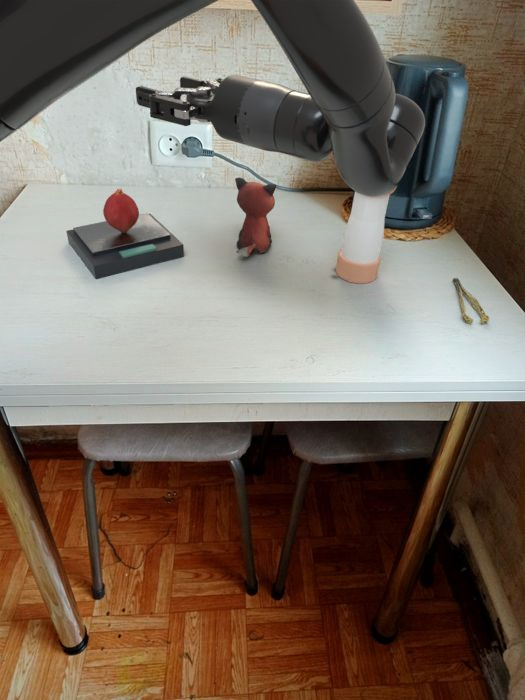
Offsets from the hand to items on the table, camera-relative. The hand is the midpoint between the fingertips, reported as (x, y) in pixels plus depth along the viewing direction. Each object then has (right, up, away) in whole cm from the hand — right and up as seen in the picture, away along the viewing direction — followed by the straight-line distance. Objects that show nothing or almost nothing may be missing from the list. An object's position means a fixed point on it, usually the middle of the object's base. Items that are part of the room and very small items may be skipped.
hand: (160, 89), depth 69 cm
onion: (-11, -15, +20) cm, 27 cm away
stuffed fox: (+11, -17, +25) cm, 32 cm away
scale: (-11, -17, +22) cm, 30 cm away
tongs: (+47, -28, +15) cm, 57 cm away
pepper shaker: (+30, -22, +21) cm, 43 cm away
